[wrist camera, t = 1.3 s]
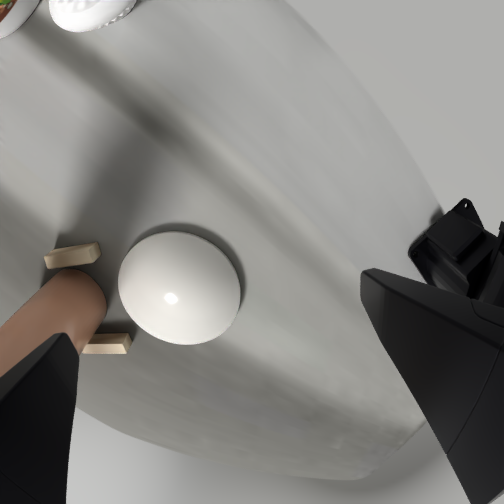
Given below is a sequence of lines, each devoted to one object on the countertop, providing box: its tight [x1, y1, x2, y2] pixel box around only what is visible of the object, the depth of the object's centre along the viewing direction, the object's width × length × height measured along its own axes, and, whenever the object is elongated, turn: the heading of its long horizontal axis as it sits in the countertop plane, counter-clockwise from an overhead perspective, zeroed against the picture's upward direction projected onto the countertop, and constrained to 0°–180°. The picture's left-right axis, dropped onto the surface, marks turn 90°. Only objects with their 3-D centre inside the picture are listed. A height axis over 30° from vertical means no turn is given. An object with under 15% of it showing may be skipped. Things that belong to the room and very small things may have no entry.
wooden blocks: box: [44, 242, 132, 354], centre depth 22 cm, size 8×9×3 cm
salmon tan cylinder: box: [0, 269, 107, 377], centre depth 18 cm, size 6×6×13 cm
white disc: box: [118, 231, 241, 345], centre depth 23 cm, size 9×9×1 cm
